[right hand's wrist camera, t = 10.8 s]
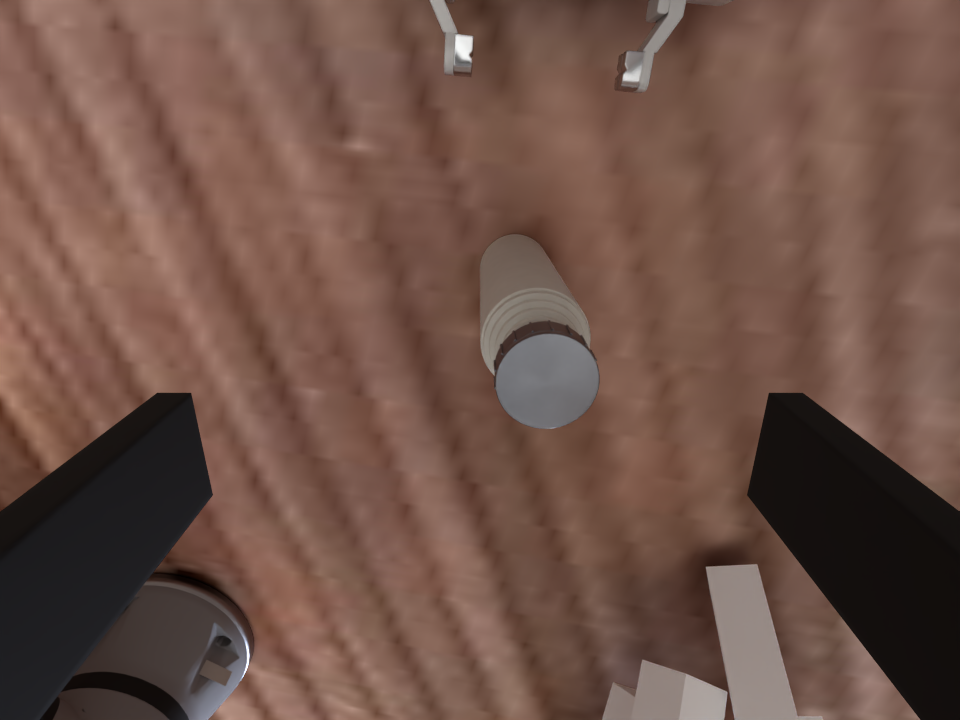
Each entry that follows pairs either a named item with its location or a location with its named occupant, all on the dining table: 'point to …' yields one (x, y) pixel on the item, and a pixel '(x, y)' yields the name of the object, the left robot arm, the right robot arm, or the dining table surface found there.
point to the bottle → (522, 293)
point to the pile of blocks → (747, 660)
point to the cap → (545, 375)
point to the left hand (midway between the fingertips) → (544, 83)
